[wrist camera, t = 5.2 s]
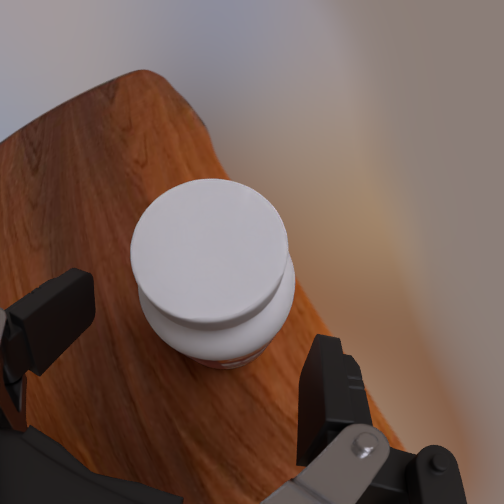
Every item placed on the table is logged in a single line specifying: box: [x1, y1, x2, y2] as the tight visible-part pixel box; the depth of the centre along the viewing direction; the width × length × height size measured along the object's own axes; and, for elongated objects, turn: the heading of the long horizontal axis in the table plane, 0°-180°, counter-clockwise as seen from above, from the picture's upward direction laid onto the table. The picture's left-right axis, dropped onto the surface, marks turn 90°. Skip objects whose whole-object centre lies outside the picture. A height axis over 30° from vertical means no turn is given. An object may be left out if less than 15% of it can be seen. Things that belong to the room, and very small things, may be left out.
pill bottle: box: [130, 179, 295, 369], centre depth 13 cm, size 6×6×11 cm
